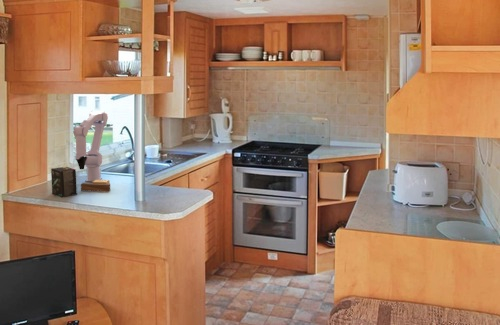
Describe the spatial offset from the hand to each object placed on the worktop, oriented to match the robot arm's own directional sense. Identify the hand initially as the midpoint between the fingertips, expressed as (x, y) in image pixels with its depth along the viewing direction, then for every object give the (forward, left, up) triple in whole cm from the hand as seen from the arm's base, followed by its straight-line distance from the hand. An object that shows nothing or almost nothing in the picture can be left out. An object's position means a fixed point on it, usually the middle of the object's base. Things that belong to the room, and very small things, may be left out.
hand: (81, 169), depth 299 cm
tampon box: (+22, -2, -10) cm, 25 cm away
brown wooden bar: (+12, +12, -10) cm, 20 cm away
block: (+7, +14, -10) cm, 18 cm away
